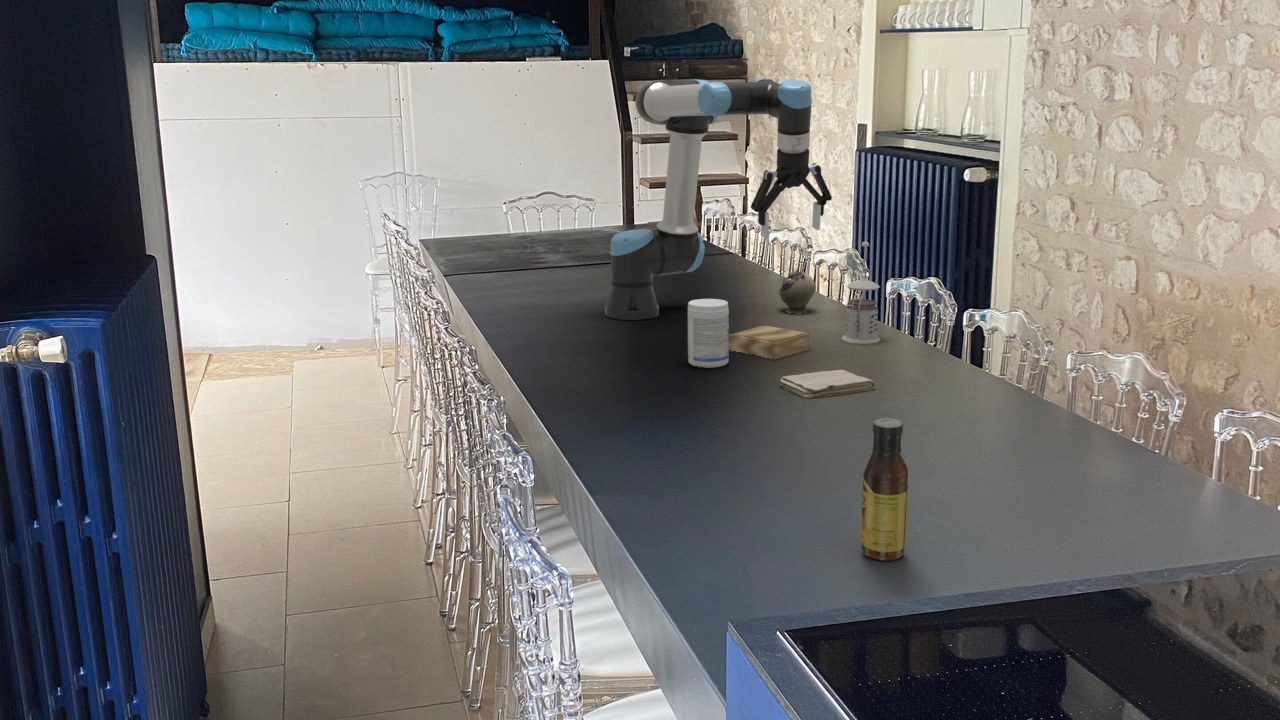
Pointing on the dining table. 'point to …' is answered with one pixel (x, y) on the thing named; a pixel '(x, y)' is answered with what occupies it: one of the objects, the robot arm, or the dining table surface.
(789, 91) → the robot arm
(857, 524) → the dining table surface
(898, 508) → the sauce bottle
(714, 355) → the supplement tub
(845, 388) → the washcloth
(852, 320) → the french press
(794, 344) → the riser
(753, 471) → the dining table surface
